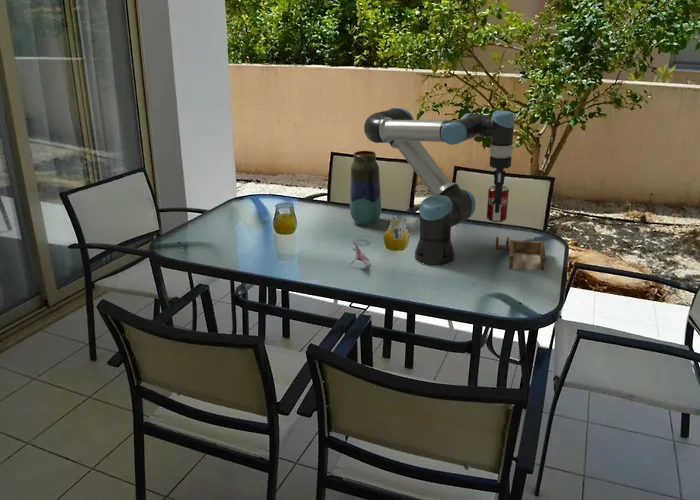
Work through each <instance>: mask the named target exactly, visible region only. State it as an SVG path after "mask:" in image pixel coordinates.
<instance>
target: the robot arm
mask: <svg viewBox="0 0 700 500" xmlns="http://www.w3.org/2000/svg"><path fill="white" fill-rule="evenodd" d="M514 129H515V114H514V112H512V111H509V110H496V111H493V113H492V115H486V114H485V115H484V114H480V113H479V114H477V113H465V114H463V116H462V117H461V118H460V119H456V120H450V119H449V120H446V119H445V120H443V119H440V120H439V119H437V120H435V119H433V120H432V119H414V116H413V114H411V112H410V111H409V110H407V109H406V108H403V107H393V108H389V109H386V110H383V111H379V112H378V111H377V112H374V113H372V114H371V115H369V116H368V117H367V118H366V119H365V121H364V125H363V130H364V135H365V136H366V138H367V139H368V140H369V141H370V142H372V143H376V144H383V143H384V144H389V145H390V146H391V147H392V149H398V151H399V152H400V153H401V155H402V156H403V157H404V159H405V160H406V162H407V163H408V164H409V166H410V168H412V170H413V171H414V172H415V173H416V175H417V176H418V178H419V179H420V181H421V182H422V183H423V184H424V185H425V187H426V188H427V189H428V191H429V193H430V194H431V196H427V197H426V198H424V199H423V200H422V201H421V202H420V207H419V240H418V242H417V245H416V248H415V250H414V259H415V261H416V260H417V261H416V262H418V261H419V262H421V263H420V264H422V263H424V264H423V265H425V264H427V265H426V266H431V265H436V266H435V267H438V266H439V267H440V266H445V265H449V264H451V263H453V262H454V261H455V258H456V257H455V256H456V255H455V254H456V253H455V249H454V246H453V243H452V239H451V237H452V235H451V234H452V228H453V227H456V226H457V225H458V224H460V223H463V222H465V221H467V220H468V219H469V218H471V217H472V216H473V215H474V214H475V211H476V205H477V202H476V199H475V196H474V195H473V193H471V191H469V190H467V189H463V188H462V189H461V187H460V186H459V185H458V183H457V182H452V181H450V179H449V178H448V177H447V176H446V174H445V173H444V171H443V170H442V169H441V168H440V166H439V165H438V164H437V162H436V161H435V160H434V157H432V155H431V154H430V152H429V151H428V150H427V148H425V146H424V145H423V143H422V142H431V143H432V142H434V143H435V142H437V143H445V144H447V145H449V146H453V145H458V144H460V143H462V142H466V141H468V140H471V139H472V140H473V139H474V138H477V137H482V138H490V149H489V155H490V156H489V166H490V168H492V169H496V170H493V177H494V179H493V184H494V186H495V197H494V202H492V204H494V206H493V220H496V221H500V216H501V203H502V202H501V197H502V186H504V184H505V178H506V170H505V169H509V168H511V167H512V158H513V157H512V154H513V150H514V149H515V146H513V143H514V142H513V140H514ZM419 262H418V263H419ZM437 265H438V266H437Z"/></svg>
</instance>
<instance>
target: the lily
mask: <svg viewBox="0 0 700 500" xmlns="http://www.w3.org/2000/svg"><path fill="white" fill-rule="evenodd" d="M352 242H353V244H354V246H355V248H354V247H352V250H353V251H354V252H355V258H354V260H353V261H352V262H351V263H350V265H351V264H352V265H353V264H354V262H355V261H356V260H357V261H360V262H362V263H363V264H365V265H366V267H367V265H368V264H369V261H370V260H369V258H368V257H367V256H366V253H364V252H362V250H361V249H360V248H359V246H358V244H357V243H356V241H355V240H352Z"/></svg>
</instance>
